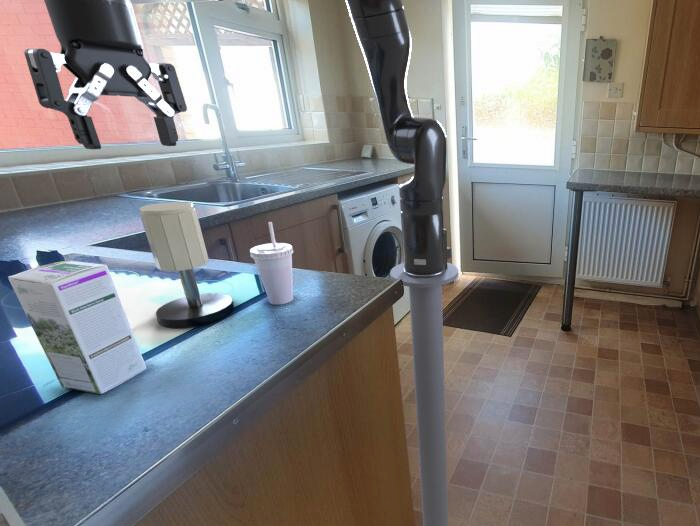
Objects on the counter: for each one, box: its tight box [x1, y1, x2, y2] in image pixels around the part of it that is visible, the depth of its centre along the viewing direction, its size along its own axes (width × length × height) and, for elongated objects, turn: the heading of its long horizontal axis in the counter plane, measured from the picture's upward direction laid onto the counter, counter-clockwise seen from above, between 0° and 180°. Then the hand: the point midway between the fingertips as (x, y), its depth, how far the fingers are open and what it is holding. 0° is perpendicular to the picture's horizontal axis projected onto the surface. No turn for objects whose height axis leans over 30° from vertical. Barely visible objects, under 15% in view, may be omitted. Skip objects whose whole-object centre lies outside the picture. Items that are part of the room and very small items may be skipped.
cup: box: [139, 201, 210, 272], centre depth 61 cm, size 6×6×9 cm
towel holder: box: [155, 269, 235, 329], centre depth 63 cm, size 10×10×17 cm
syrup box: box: [7, 260, 147, 395], centre depth 47 cm, size 6×6×14 cm
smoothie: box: [249, 221, 294, 306], centre depth 70 cm, size 6×6×14 cm
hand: (134, 147), depth 54 cm, fingers open, 8 cm apart
